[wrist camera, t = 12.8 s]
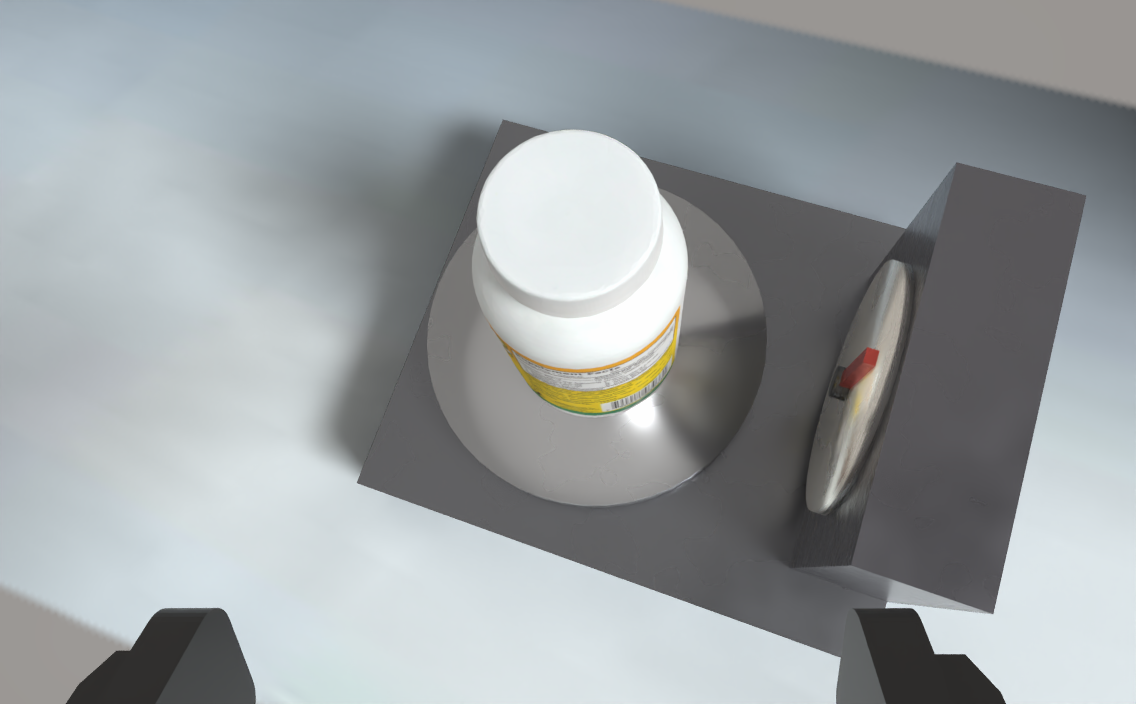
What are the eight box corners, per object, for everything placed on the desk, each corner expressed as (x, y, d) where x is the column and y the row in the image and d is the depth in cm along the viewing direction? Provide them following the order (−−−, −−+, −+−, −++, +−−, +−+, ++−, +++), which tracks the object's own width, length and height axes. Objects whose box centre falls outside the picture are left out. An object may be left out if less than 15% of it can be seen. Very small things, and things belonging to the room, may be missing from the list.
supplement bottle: (656, 438, 26) (661, 362, 17) (493, 397, 27) (410, 303, 17) (695, 278, 27) (719, 125, 18) (538, 244, 28) (483, 81, 19)
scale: (944, 278, 31) (1102, 122, 20) (846, 658, 28) (971, 710, 17) (515, 159, 33) (455, -34, 23) (384, 491, 30) (245, 447, 20)
